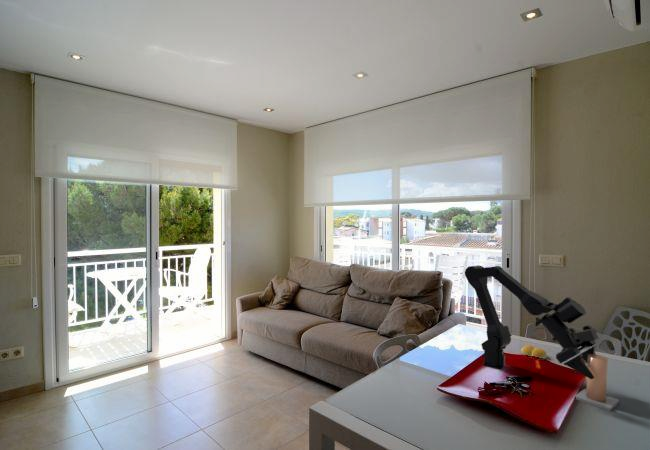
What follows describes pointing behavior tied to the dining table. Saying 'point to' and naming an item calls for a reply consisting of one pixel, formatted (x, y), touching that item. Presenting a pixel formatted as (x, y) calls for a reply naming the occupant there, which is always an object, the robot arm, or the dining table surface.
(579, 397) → the slate coaster
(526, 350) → the bread roll
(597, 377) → the peach pillar candle
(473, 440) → the dining table surface
